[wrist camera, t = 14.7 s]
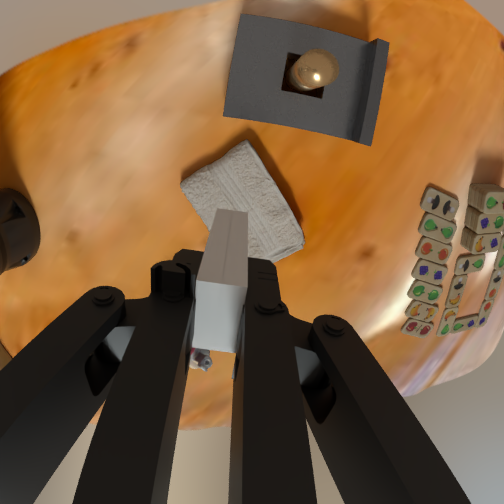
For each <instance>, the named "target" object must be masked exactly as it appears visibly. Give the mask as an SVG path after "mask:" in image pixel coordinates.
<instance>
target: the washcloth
mask: <svg viewBox="0 0 504 504" xmlns="http://www.w3.org/2000/svg"><path fill="white" fill-rule="evenodd" d="M180 187H181V189H182V192H183V193H184V194H185V196H186V197H187V199H188V200H189V201H190V203H191V204H192V206H193V208H194V209H195V210H196V212H197V214H198V215H199V216H200V217H201V219H202V220H203V222H204V223H205V224H206V226H207V228H208V230H209V232H210V230H211V227H212V224H213V220H214V217H215V214H216V211H217V208H220V209H227V210H234V211H242V212H248V257H252V258H260V259H267V260H270V261H271V262H272V263H274V262H276V261H278V260H280V259H282V258H284V257H287V256H288V255H290V254H292V253H294V252H296V251H298V250H300V249H302V248H303V244H305V240H304V237H303V231H302V229H301V227H300V226H299V224H298V222H297V220H296V218H295V217H294V214H293V212H292V210H291V209H290V207H289V205H288V203H287V201H286V200H285V198H284V197H283V195H282V193H281V192H280V190H279V189H278V187H277V185H276V183H275V181H274V180H273V179H272V177H271V175H270V174H269V172H268V171H267V169H266V167H265V166H264V164H263V163H262V160H261V159H260V157H259V155H258V154H257V152H256V150H255V149H254V148H253V146H252V145H251V143H250V142H249V141H248V140H247V139H246V140H245V141H242V142H240V143H239V144H238V145H236V146H235V147H233V148H232V149H230V150H229V151H228V152H227V153H226V154H225V155H224V156H223V157H221V158H220V159H218V160H217V161H214V162H213V163H212V164H210V165H206V166H204V167H202V168H201V169H199V170H198V171H196V172H195V173H193V174H192V175H191V176H190V177H188V178H186V179H185V180H183V181H182V182H181V183H180Z"/></svg>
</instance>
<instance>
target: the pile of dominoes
mask: <svg viewBox="0 0 504 504" xmlns="http://www.w3.org/2000/svg"><path fill="white" fill-rule="evenodd" d="M468 204H469V206H468V207H467V209H466V216H465V222H464V224H465V225H466V227H465V228H464V229H463V232H462V237H461V243H460V244H461V246H462V247H464V248H465V249H467V250H468V251H470V252H471V253H472V254H471V255H464V256H459V257H458V258H457V260H456V264H455V269H454V273H455V275H454V276H453V278H452V281H451V285H450V289H449V292H448V296H447V299H446V302H445V307H446V308H445V310H444V312H443V315H442V318H441V321H440V324H439V327H438V330H437V333H436V335H437V336H444V335H448V334H449V333H452V334H453V333H457V332H461V331H465V330H469V329H472V328H473V327H475V328H478V327H482V326H484V325H485V324H486V322H487V319H488V317H489V314H490V311H491V309H492V306H493V303H494V298H495V297H496V295H497V292H498V290H499V287H500V284H501V281H502V277H503V274H504V188H502V187H500V186H497V185H496V184H471V185H470V187H469V194H468ZM420 207H421V209H423V210H425V211H427V212H426V213H425V214H424V216H423V218H422V221H421V223H420V225H419V228H418V231H419V233H420V234H421V235H424V236H423V237H422V238H421V240H420V242H419V244H418V246H417V248H416V251H415V255H416V256H417V257H420V259H419V260H418V262H417V263H416V265H415V267H414V269H413V271H412V273H411V275H412V277H413V278H416V280H415V281H414V282H413V284H412V286H411V287H410V289H409V291H408V293H407V295H408V297H409V298H412V299H414V300H413V301H412V302H411V303H410V305H409V306H408V308H407V309H406V311H405V315H406V316H407V317H410V318H409V319H408V320H407V321H406V323H405V324H404V325H403V327H402V328H401V332H402V333H403V334H408V335H411V336H415V337H419V338H425V337H427V335H428V334H429V333H430V332H431V330H432V329H433V327H434V325H433V323H430V321H431V320H432V319H433V318H434V316H435V315H436V313H437V312H438V310H439V308H438V306H436V305H433V304H434V303H435V302H436V301H437V300H438V298H439V297H440V295H441V293H442V292H443V289H442V287H441V286H438V285H439V284H440V283H441V282H442V281H443V279H444V277H445V275H446V274H447V271H448V269H447V267H446V266H444V265H441V264H445V263H446V262H447V260H448V258H449V256H450V254H451V252H452V246H451V245H450V244H448V243H450V242H451V240H452V238H453V236H454V234H455V232H456V229H457V226H456V224H455V223H454V222H451V220H453V218H454V217H455V214H456V212H457V210H458V207H459V201H458V200H457V199H455V198H453V197H451V196H449V195H447V194H445V193H443V192H441V191H438V190H436V189H434V188H432V187H427V188H426V189H425V192H424V194H423V197H422V200H421V202H420ZM501 231H502V233H503V235H501V233H500V232H501ZM497 250H498V252H497V256H496V259H495V263H494V270H493V272H492V275H491V278H490V282H489V285H488V288H487V291H486V294H485V297H484V298H485V300H484V301H483V302H482V305H481V308H480V310H479V313H478V315H477V314H475V315H471V316H467V317H463V318H458V319H455V318H456V315H457V312H458V305H459V303H460V301H461V297H462V294H463V291H464V288H465V284H466V281H467V277H468V276H467V273H472V272H477V271H480V270H482V268H483V265H484V261H485V254H484V253H488V252H495V251H497Z"/></svg>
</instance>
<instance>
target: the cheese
mask: <svg viewBox="0 0 504 504" xmlns="http://www.w3.org/2000/svg"><path fill="white" fill-rule="evenodd" d="M11 360H12V358H11V356H10V355H9V354H8V353H7V351H6V350H5V349H4V347H3V346H2V345H1V343H0V370H1V369H2V368H4V367H5V366H6V365H7V364H8V363H9V362H10V361H11Z"/></svg>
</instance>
